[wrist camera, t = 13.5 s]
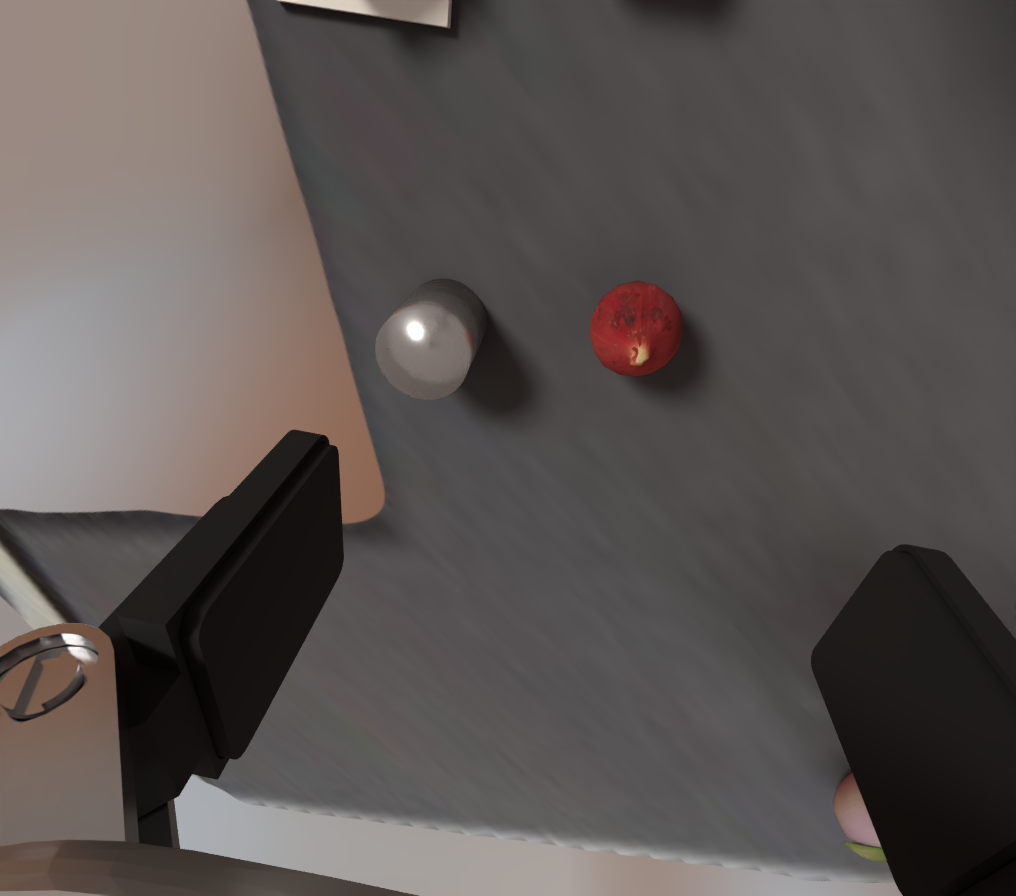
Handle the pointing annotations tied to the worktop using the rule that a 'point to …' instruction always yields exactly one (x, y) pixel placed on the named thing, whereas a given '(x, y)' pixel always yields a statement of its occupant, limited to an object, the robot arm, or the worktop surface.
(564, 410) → the worktop surface
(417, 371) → the tin
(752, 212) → the worktop surface
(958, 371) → the worktop surface
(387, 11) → the plate
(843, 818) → the decorative fruit
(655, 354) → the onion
